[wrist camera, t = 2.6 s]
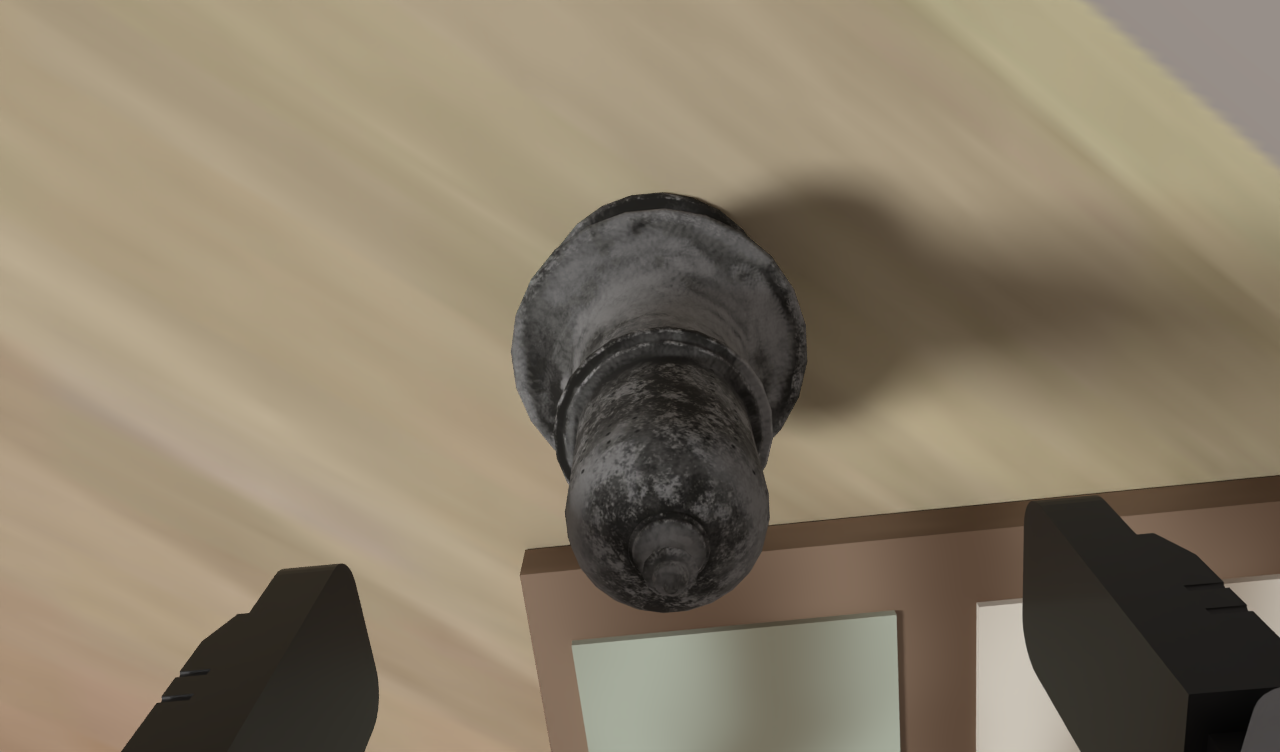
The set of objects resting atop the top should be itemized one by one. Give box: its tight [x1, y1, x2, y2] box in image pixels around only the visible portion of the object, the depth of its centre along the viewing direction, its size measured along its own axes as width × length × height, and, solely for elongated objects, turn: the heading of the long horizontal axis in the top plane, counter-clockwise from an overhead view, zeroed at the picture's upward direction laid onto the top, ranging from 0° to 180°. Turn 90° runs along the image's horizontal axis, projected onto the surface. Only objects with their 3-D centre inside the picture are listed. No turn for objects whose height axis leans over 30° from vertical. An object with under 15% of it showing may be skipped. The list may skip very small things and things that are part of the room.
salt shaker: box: [511, 193, 807, 613], centre depth 17 cm, size 6×6×12 cm
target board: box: [520, 476, 1280, 752], centre depth 26 cm, size 20×12×1 cm, turn 96°
